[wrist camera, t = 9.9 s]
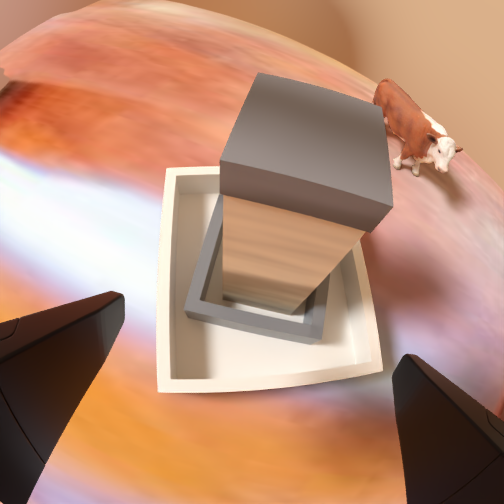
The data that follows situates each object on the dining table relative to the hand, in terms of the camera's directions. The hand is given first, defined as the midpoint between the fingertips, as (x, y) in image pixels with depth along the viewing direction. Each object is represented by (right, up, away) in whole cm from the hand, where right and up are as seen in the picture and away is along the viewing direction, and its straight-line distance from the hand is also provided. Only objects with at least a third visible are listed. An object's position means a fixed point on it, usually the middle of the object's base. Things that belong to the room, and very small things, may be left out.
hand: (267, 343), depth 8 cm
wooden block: (0, +1, +13) cm, 13 cm away
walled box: (0, +1, +14) cm, 14 cm away
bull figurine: (+16, +14, +22) cm, 30 cm away
